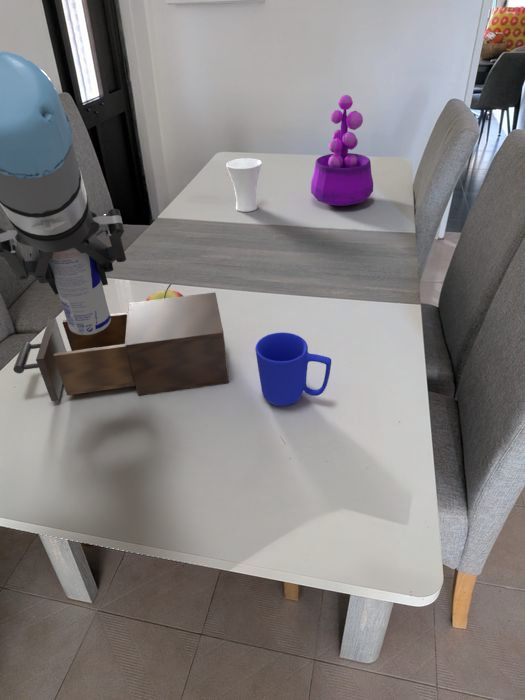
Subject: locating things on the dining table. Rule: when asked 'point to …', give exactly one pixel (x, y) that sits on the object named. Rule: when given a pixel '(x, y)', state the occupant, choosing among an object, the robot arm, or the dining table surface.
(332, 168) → the decorative plant
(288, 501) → the dining table surface
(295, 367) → the mug
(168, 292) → the apple
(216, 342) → the cabinet
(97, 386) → the drawer
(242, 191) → the cup
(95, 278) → the beverage can
